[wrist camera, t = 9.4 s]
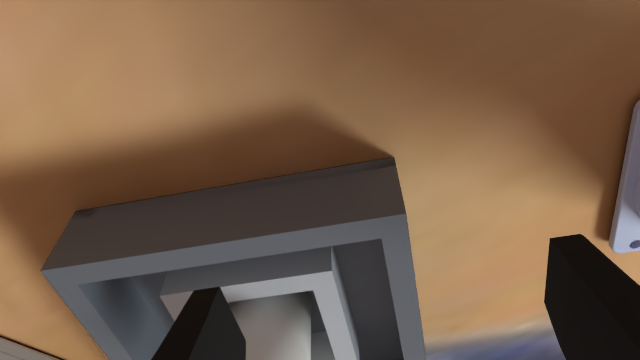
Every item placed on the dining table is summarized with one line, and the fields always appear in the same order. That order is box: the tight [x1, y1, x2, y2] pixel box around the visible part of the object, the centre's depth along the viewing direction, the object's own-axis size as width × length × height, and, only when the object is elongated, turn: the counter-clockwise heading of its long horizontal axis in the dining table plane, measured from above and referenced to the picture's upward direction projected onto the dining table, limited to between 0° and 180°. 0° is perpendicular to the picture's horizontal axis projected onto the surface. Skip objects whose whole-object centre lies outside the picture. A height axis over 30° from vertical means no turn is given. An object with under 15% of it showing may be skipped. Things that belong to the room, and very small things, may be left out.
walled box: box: [41, 157, 426, 360], centre depth 24 cm, size 14×14×4 cm
